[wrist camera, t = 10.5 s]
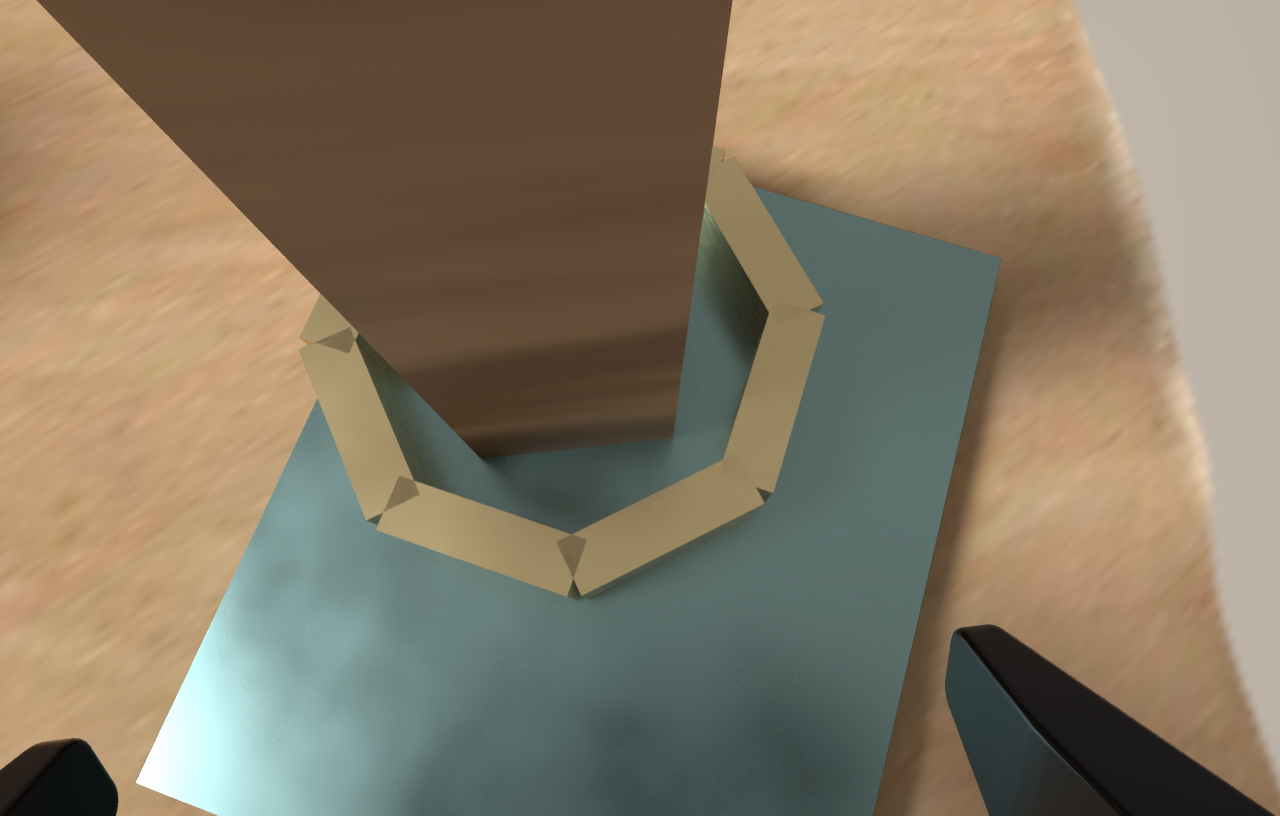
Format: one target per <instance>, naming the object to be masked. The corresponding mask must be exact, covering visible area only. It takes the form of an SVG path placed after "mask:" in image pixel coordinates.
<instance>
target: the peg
mask: <svg viewBox="0 0 1280 816" xmlns="http://www.w3.org/2000/svg"><path fill="white" fill-rule="evenodd" d="M37 1H38V2H39V3H40V4H41V5H42V6H43V7H44V8H45V9H46V10H47V11H48V12H49V13H50V15H51V16H52V17H53V18H54V19H55V20H56V21H57V22H58V23H59V24H60V25H61V26H62V27H63V28H64V29H65V30H66V31H67V32H68V33H69V34H70V35H71V36H72V37H73V38H74V39H75V40H76V41H77V42H78V43H79V44H80V45H81V47H82V48H83V49H84V50H85V51H86V52H87V53H88V54H89V55H90V56H91V57H92V58H93V59H94V60H95V61H96V62H97V63H98V64H99V65H100V66H101V67H102V68H103V69H104V70H105V71H106V72H107V73H108V74H109V75H110V76H111V77H112V79H113V80H114V81H115V82H116V83H117V84H118V85H119V86H120V87H121V88H122V89H123V90H124V91H125V92H126V93H127V94H128V95H129V96H130V97H131V98H132V99H133V100H134V101H135V102H136V103H137V104H138V105H139V106H140V107H141V108H142V110H143V111H144V112H145V113H146V114H147V115H148V116H149V117H150V118H151V119H152V120H153V121H154V122H155V123H156V124H157V125H158V126H159V127H160V128H161V129H162V130H163V131H164V132H165V133H166V134H167V135H168V136H169V137H170V138H171V139H172V140H173V142H174V143H175V144H176V145H177V146H178V147H179V148H180V149H181V150H182V151H183V152H184V153H185V154H186V155H187V156H188V157H189V158H190V159H191V160H192V161H193V162H194V163H195V164H196V165H197V166H198V167H199V168H200V169H201V170H202V171H203V172H204V174H205V175H206V176H207V177H208V178H209V179H210V180H211V181H212V182H213V183H214V184H215V185H216V186H217V187H218V188H219V189H220V190H221V191H222V192H223V193H224V194H225V195H226V196H227V197H228V198H229V199H230V200H231V201H232V202H233V203H234V205H235V206H236V207H237V208H238V209H239V210H240V211H241V212H242V213H243V214H244V215H245V216H246V217H247V218H248V219H249V220H250V221H251V222H252V223H253V224H254V225H255V226H256V227H257V228H258V229H259V230H260V231H261V232H262V233H263V234H264V235H265V237H266V238H267V239H268V240H269V241H270V242H271V243H272V244H273V245H274V246H275V247H276V248H277V249H278V250H279V251H280V252H281V253H282V254H283V255H284V256H285V257H286V258H287V259H288V260H289V261H290V262H291V263H292V264H293V265H294V266H295V268H296V269H297V270H298V271H299V272H300V273H301V274H302V275H303V276H304V277H305V278H306V279H307V280H308V281H309V282H310V283H311V284H312V285H313V286H314V287H315V288H316V289H317V290H318V291H319V292H320V293H321V294H322V295H323V296H324V297H325V298H326V300H327V301H328V302H329V303H330V304H331V305H332V306H333V307H334V308H335V309H336V310H337V311H338V312H339V313H340V314H341V315H342V316H343V317H344V318H345V319H346V320H347V321H348V322H349V323H350V324H351V325H352V326H353V327H354V328H355V329H356V330H357V332H358V333H359V334H360V335H361V336H362V337H363V338H364V339H365V340H366V341H367V342H368V343H369V344H370V345H371V346H372V347H373V348H374V349H375V350H376V351H377V352H378V353H379V354H380V355H381V356H382V357H383V358H384V359H385V360H386V361H387V363H388V364H389V365H390V366H391V367H392V368H393V369H394V370H395V371H396V372H397V373H398V374H399V375H400V376H401V377H402V378H403V379H404V380H405V381H406V382H407V383H408V384H409V385H410V386H411V387H412V388H413V389H414V390H415V391H416V392H417V393H418V395H419V396H420V397H421V398H422V399H423V400H424V401H425V402H426V403H427V404H428V405H429V406H430V407H431V408H432V409H433V410H434V411H435V412H436V413H437V414H438V415H439V416H440V417H441V418H442V419H443V420H444V421H445V422H446V423H447V424H448V425H449V427H450V428H451V429H452V430H453V431H454V432H455V433H456V434H457V435H458V436H459V437H460V438H461V439H462V440H463V441H464V442H465V443H466V444H467V445H468V446H469V447H470V448H471V449H472V450H473V451H474V452H475V453H476V454H477V455H478V456H479V458H480V459H484V458H494V457H503V456H512V455H521V454H531V453H540V452H549V451H558V450H567V449H577V448H586V447H595V446H604V445H613V444H623V443H632V442H641V441H650V440H660V439H669V438H673V433H674V426H675V419H676V411H677V404H678V397H679V389H680V382H681V375H682V367H683V360H684V352H685V345H686V338H687V330H688V323H689V316H690V308H691V301H692V294H693V286H694V279H695V272H696V264H697V257H698V250H699V242H700V235H701V227H702V220H703V213H704V205H705V198H706V191H707V183H708V176H709V169H710V161H711V154H712V147H713V139H714V132H715V124H716V117H717V110H718V102H719V95H720V88H721V80H722V73H723V66H724V58H725V51H726V44H727V36H728V29H729V22H730V14H731V7H732V0H37Z"/></svg>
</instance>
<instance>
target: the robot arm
mask: <svg viewBox="0 0 1280 816" xmlns="http://www.w3.org/2000/svg"><path fill="white" fill-rule="evenodd" d="M945 691H946V697H947V701H948V705H949V708H950V710H951V713H952V716H953V718H954V721H955V724H956V727H957V729H958V732H959V735H960V737H961V740H962V743H963V745H964V748H965V751H966V754H967V756H968V759H969V762H970V764H971V767H972V770H973V772H974V775H975V778H976V781H977V783H978V786H979V789H980V791H981V794H982V797H983V799H984V802H985V805H986V808H987V810H988V813H989V816H1275V815H1274V814H1272V813H1271V812H1269V811H1268V810H1266V809H1265V808H1263V807H1262V806H1260V805H1259V804H1258V803H1256V802H1255V801H1253V800H1252V799H1250V798H1249V797H1247V796H1246V795H1244V794H1243V793H1241V792H1240V791H1239V790H1237V789H1236V788H1234V787H1233V786H1231V785H1230V784H1228V783H1227V782H1225V781H1224V780H1222V779H1221V778H1220V777H1218V776H1217V775H1215V774H1214V773H1212V772H1211V771H1209V770H1208V769H1206V768H1205V767H1203V766H1202V765H1201V764H1199V763H1198V762H1196V761H1195V760H1193V759H1192V758H1190V757H1189V756H1187V755H1186V754H1184V753H1183V752H1182V751H1180V750H1179V749H1177V748H1176V747H1174V746H1173V745H1171V744H1170V743H1168V742H1167V741H1165V740H1164V739H1163V738H1161V737H1160V736H1158V735H1157V734H1155V733H1154V732H1152V731H1151V730H1149V729H1148V728H1146V727H1145V726H1144V725H1142V724H1141V723H1139V722H1138V721H1136V720H1135V719H1133V718H1132V717H1130V716H1129V715H1127V714H1126V713H1125V712H1123V711H1122V710H1120V709H1119V708H1117V707H1116V706H1114V705H1113V704H1111V703H1110V702H1108V701H1107V700H1106V699H1104V698H1103V697H1101V696H1100V695H1098V694H1097V693H1095V692H1094V691H1092V690H1091V689H1089V688H1088V687H1087V686H1085V685H1084V684H1082V683H1081V682H1079V681H1078V680H1076V679H1075V678H1073V677H1072V676H1070V675H1069V674H1068V673H1066V672H1065V671H1063V670H1062V669H1060V668H1059V667H1057V666H1056V665H1054V664H1053V663H1051V662H1050V661H1049V660H1047V659H1046V658H1044V657H1043V656H1041V655H1040V654H1038V653H1037V652H1035V651H1034V650H1033V649H1031V648H1030V647H1028V646H1027V645H1025V644H1024V643H1022V642H1021V641H1019V640H1018V639H1016V638H1015V637H1014V636H1012V635H1011V634H1009V633H1008V632H1006V631H1005V630H1003V629H1002V628H1000V627H998V626H995V625H991V624H987V625H979V626H971V627H963V628H959V629H957V630H956V631H955V632H954V633H953V636H952V639H951V645H950V652H949V659H948V666H947V673H946V680H945ZM117 809H118V792H117V788H116V786H115V784H114V782H113V780H112V779H111V777H110V776H109V774H108V773H107V771H106V770H105V768H104V767H103V765H102V763H101V762H100V760H99V759H98V757H97V756H96V754H95V753H94V751H93V750H92V748H91V746H90V745H89V744H88V743H87V742H86V741H84V740H82V739H79V738H71V739H63V740H55V741H47V742H42V743H39V744H36V745H34V746H32V747H30V748H29V749H27V750H26V751H24V752H23V753H22V754H20V755H19V756H18V757H17V758H15V759H14V760H13V761H11V762H10V763H9V764H8V765H6V766H5V767H4V768H2V769H1V770H0V816H116V813H117Z"/></svg>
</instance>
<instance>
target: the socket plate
mask: <svg viewBox="0 0 1280 816" xmlns="http://www.w3.org/2000/svg"><path fill="white" fill-rule="evenodd" d="M724 153H725V150H724V149H720V148H717V147H712V154H711V161H710V169H709V176H708V183H707V191H706V198H705V205H704V213H703V220H702V227H701V235H700V242H699V250H698V257H697V264H696V272H695V279H694V286H693V294H692V301H691V308H690V316H689V323H688V330H687V338H686V345H685V352H684V360H683V367H682V375H681V382H680V389H679V397H678V404H677V411H676V419H675V426H674V433H673V438H669V439H660V440H650V441H641V442H632V443H623V444H613V445H604V446H595V447H586V448H577V449H567V450H558V451H549V452H540V453H531V454H521V455H512V456H503V457H494V458H484V459H480V458H479V456H478V455H477V454H476V453H475V452H474V451H473V450H472V449H471V448H470V447H469V446H468V445H467V444H466V443H465V442H464V441H463V440H462V439H461V438H460V437H459V436H458V435H457V434H456V433H455V432H454V431H453V430H452V429H451V428H450V427H449V425H448V424H447V423H446V422H445V421H444V420H443V419H442V418H441V417H440V416H439V415H438V414H437V413H436V412H435V411H434V410H433V409H432V408H431V407H430V406H429V405H428V404H427V403H426V402H425V401H424V400H423V399H422V398H421V397H420V396H419V395H418V393H417V392H416V391H415V390H414V389H413V388H412V387H411V386H410V385H409V384H408V383H407V382H406V381H405V380H404V379H403V378H402V377H401V376H400V375H399V374H398V373H397V372H396V371H395V370H394V369H393V368H392V367H391V366H390V365H389V364H388V363H387V361H386V360H385V359H384V358H383V357H382V356H381V355H380V354H379V353H378V352H377V351H376V350H375V349H374V348H373V347H372V346H371V345H370V344H369V343H368V342H367V341H366V340H365V339H364V338H363V337H362V336H361V335H360V334H359V333H358V332H357V330H356V329H355V328H354V327H353V326H352V325H351V324H350V323H349V322H348V321H347V320H346V319H345V318H344V317H343V316H342V315H341V314H340V313H339V312H338V311H337V310H336V309H335V308H334V307H333V306H332V305H331V304H330V303H329V302H328V301H327V300H326V298H325V297H324V296H323V295H322V294H321V295H320V297H319V299H318V301H317V303H316V305H315V307H314V309H313V311H312V313H311V315H310V317H309V319H308V321H307V323H306V325H305V327H304V329H303V331H302V333H301V335H300V337H299V338H301V339H302V340H303V341H304V342H305V343H307V344H308V346H306V347H304V348H302V349H299V352H300V354H301V357H302V359H303V362H304V365H305V367H306V370H307V372H308V375H309V377H310V380H311V382H312V385H313V387H314V390H315V392H316V395H317V397H318V399H317V401H316V403H315V405H314V407H313V409H312V411H311V413H310V416H309V418H308V420H307V422H306V424H305V426H304V428H303V430H302V433H301V435H300V437H299V439H298V441H297V443H296V445H295V447H294V449H293V452H292V454H291V456H290V458H289V460H288V462H287V464H286V466H285V469H284V471H283V473H282V475H281V477H280V479H279V481H278V483H277V485H276V488H275V490H274V492H273V494H272V496H271V498H270V500H269V502H268V505H267V507H266V509H265V511H264V513H263V515H262V517H261V519H260V521H259V524H258V526H257V528H256V530H255V532H254V534H253V536H252V538H251V541H250V543H249V545H248V547H247V549H246V551H245V553H244V555H243V557H242V560H241V562H240V564H239V566H238V568H237V570H236V572H235V574H234V577H233V579H232V581H231V583H230V585H229V587H228V589H227V591H226V593H225V596H224V598H223V600H222V602H221V604H220V606H219V608H218V610H217V612H216V615H215V617H214V619H213V621H212V623H211V625H210V627H209V629H208V632H207V634H206V636H205V638H204V640H203V642H202V644H201V646H200V648H199V651H198V653H197V655H196V657H195V659H194V661H193V663H192V665H191V668H190V670H189V672H188V674H187V676H186V678H185V680H184V682H183V684H182V687H181V689H180V691H179V693H178V695H177V697H176V699H175V701H174V704H173V706H172V708H171V710H170V712H169V714H168V716H167V718H166V720H165V723H164V725H163V727H162V729H161V731H160V733H159V735H158V737H157V740H156V742H155V744H154V746H153V748H152V750H151V752H150V754H149V756H148V759H147V761H146V763H145V765H144V767H143V769H142V771H141V773H140V776H139V778H138V780H137V782H136V783H138V784H140V785H143V786H145V787H148V788H150V789H153V790H155V791H158V792H160V793H163V794H166V795H168V796H171V797H173V798H176V799H178V800H181V801H183V802H186V803H188V804H191V805H193V806H196V807H198V808H201V809H203V810H206V811H208V812H211V813H213V814H216V815H218V816H873V813H874V809H875V804H876V800H877V796H878V791H879V787H880V783H881V778H882V774H883V769H884V765H885V761H886V756H887V752H888V748H889V743H890V739H891V735H892V730H893V726H894V722H895V717H896V713H897V709H898V704H899V700H900V696H901V691H902V687H903V683H904V678H905V674H906V670H907V665H908V661H909V657H910V652H911V648H912V644H913V639H914V635H915V631H916V626H917V622H918V618H919V613H920V609H921V605H922V600H923V596H924V592H925V587H926V583H927V579H928V574H929V570H930V566H931V561H932V557H933V553H934V548H935V544H936V540H937V535H938V531H939V527H940V522H941V518H942V514H943V509H944V505H945V501H946V496H947V492H948V488H949V483H950V479H951V475H952V470H953V466H954V462H955V457H956V453H957V449H958V444H959V440H960V436H961V431H962V427H963V423H964V418H965V414H966V410H967V405H968V401H969V397H970V392H971V388H972V384H973V379H974V375H975V371H976V366H977V362H978V358H979V353H980V349H981V344H982V340H983V336H984V331H985V327H986V323H987V318H988V314H989V310H990V305H991V301H992V297H993V292H994V288H995V284H996V279H997V275H998V271H999V266H1000V262H1001V258H999V257H995V256H992V255H988V254H985V253H981V252H978V251H975V250H971V249H968V248H964V247H961V246H957V245H954V244H950V243H947V242H943V241H940V240H936V239H933V238H930V237H926V236H923V235H919V234H916V233H912V232H909V231H905V230H902V229H898V228H895V227H891V226H888V225H885V224H881V223H878V222H874V221H871V220H867V219H864V218H860V217H857V216H853V215H850V214H846V213H843V212H840V211H836V210H833V209H829V208H826V207H822V206H819V205H815V204H812V203H808V202H805V201H802V200H798V199H795V198H791V197H788V196H784V195H781V194H777V193H774V192H770V191H767V190H763V189H760V188H757V187H753V186H752V185H751V183H750V181H749V180H748V178H747V176H746V175H745V173H744V172H743V170H742V168H741V167H740V165H739V163H738V162H737V160H736V158H735V157H733V158H731V159H729V160H726V161H724V162H723V159H724Z"/></svg>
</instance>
